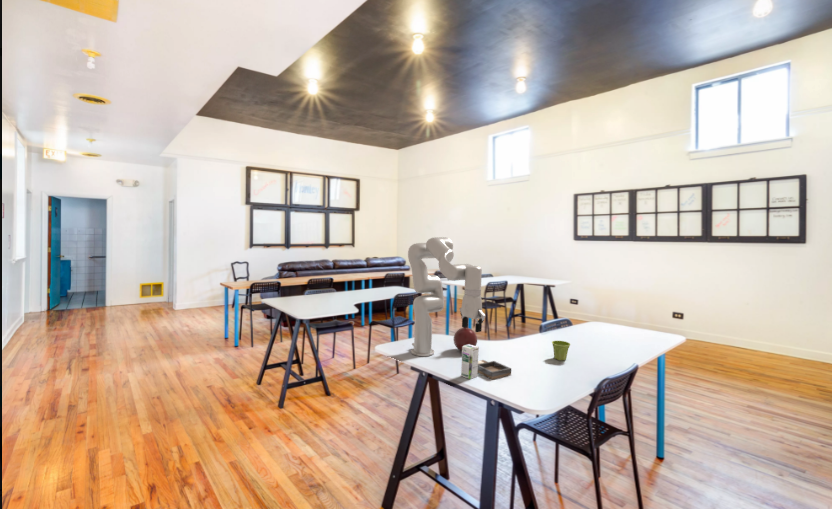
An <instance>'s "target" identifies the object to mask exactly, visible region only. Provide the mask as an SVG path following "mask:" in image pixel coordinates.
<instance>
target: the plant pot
mask: <svg viewBox="0 0 832 509" xmlns="http://www.w3.org/2000/svg"><path fill="white" fill-rule="evenodd" d="M551 343H552V348H553V358H554V360H557V361H565V360H567V356H568V353H569V352H568V351H569V348H570V346H571V343H570V342H568V341H565V340H552V341H551Z"/></svg>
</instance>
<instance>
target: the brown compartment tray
mask: <svg viewBox="0 0 832 509" xmlns="http://www.w3.org/2000/svg"><path fill="white" fill-rule="evenodd" d="M478 373H479V374H480V375H483V376H484V377H486V378H488V377H489V379H491V380H495V379H499V378H503V377H504V376H505V377H509V376H511V375H512V368H511V367H509V366H506V365H505V364H502V363H500V362H499V361H498V362H497V361H495V360H492V361H486V360H484V359H482V360H478ZM478 373H477V374H478ZM508 375H509V376H508Z"/></svg>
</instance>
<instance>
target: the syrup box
mask: <svg viewBox="0 0 832 509" xmlns="http://www.w3.org/2000/svg"><path fill="white" fill-rule="evenodd" d="M479 349H480V348H479V346H477V345H476V346H473V345H470V344H468V345H464V346H462V351H461V368H460V369H461V370H460V376H461V377H463V378H465V379H469V380H471V379H475V378H477V377H478V361H479V351H480V350H479Z"/></svg>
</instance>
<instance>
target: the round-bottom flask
mask: <svg viewBox="0 0 832 509" xmlns="http://www.w3.org/2000/svg"><path fill="white" fill-rule="evenodd" d="M467 318H468V317H467ZM469 320H470V318H468V321H469ZM453 335H454V336H453V344H454V346H455V348H456V349H458V350H459V351H461V352H462V346H464V345H468V344H470V345H473V346H477V343H478V336H477V332H475V330H473V329H472V328H469V326H468V327H461V328H459V329H457V330H456V331H455V333H454V334H453Z"/></svg>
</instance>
